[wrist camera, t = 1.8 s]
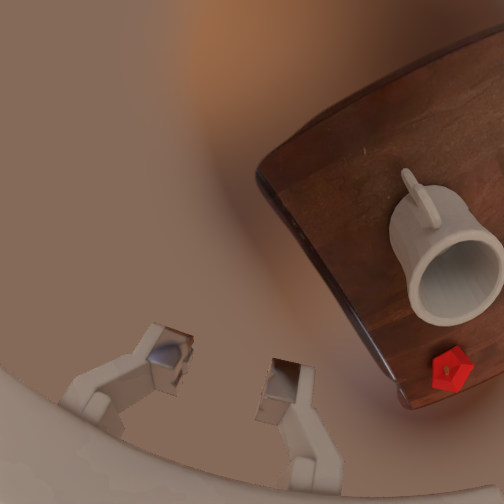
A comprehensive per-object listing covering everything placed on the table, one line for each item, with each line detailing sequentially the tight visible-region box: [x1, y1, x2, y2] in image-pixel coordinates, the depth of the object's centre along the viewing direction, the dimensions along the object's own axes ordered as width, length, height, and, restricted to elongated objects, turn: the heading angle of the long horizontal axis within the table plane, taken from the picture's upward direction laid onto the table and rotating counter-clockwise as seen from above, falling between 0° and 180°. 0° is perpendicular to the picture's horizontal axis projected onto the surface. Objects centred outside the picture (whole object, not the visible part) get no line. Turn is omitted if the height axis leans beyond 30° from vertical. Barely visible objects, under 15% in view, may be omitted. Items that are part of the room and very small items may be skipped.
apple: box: [432, 345, 474, 393], centre depth 32 cm, size 7×7×8 cm
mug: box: [389, 168, 504, 326], centre depth 22 cm, size 12×9×10 cm
